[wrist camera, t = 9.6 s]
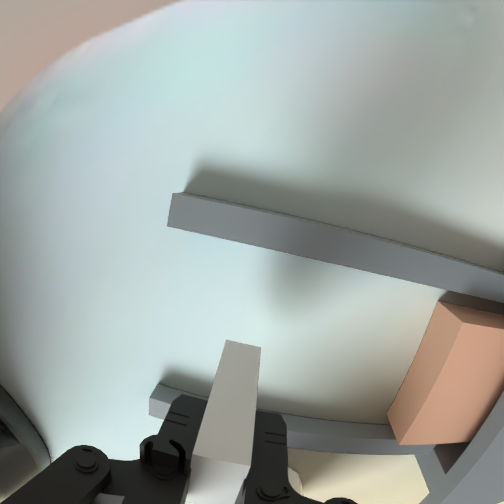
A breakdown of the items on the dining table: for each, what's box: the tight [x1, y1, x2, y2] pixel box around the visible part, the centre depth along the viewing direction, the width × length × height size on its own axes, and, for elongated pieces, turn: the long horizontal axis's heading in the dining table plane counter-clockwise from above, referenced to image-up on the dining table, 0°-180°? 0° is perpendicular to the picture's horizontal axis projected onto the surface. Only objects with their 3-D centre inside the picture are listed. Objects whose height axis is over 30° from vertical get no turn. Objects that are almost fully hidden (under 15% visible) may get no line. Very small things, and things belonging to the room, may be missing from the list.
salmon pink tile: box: [387, 301, 504, 445], centre depth 14 cm, size 14×8×3 cm, turn 78°
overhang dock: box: [149, 192, 504, 504], centre depth 13 cm, size 31×20×6 cm, turn 78°
